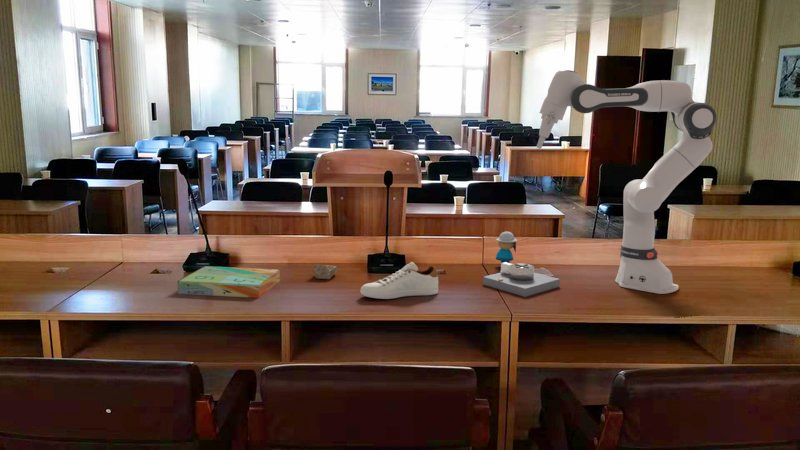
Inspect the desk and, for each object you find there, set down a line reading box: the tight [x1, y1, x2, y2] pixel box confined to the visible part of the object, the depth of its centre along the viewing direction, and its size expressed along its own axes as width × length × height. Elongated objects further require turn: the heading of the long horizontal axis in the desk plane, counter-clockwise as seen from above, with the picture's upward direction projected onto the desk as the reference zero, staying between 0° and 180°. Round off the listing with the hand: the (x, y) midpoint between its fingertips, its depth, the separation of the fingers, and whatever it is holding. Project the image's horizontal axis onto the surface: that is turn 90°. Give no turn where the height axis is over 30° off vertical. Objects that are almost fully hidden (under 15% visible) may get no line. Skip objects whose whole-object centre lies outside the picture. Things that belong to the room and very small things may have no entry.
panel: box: [482, 270, 561, 298], centre depth 235 cm, size 20×20×4 cm
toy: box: [495, 231, 518, 264], centre depth 261 cm, size 8×9×15 cm
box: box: [177, 265, 281, 299], centre depth 231 cm, size 22×5×30 cm
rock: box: [312, 264, 339, 280], centre depth 245 cm, size 10×8×8 cm
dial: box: [500, 262, 535, 280], centre depth 236 cm, size 14×9×4 cm, turn 40°
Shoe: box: [360, 261, 439, 300], centre depth 222 cm, size 10×29×12 cm, turn 111°
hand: (538, 147), depth 236 cm, fingers open, 8 cm apart
